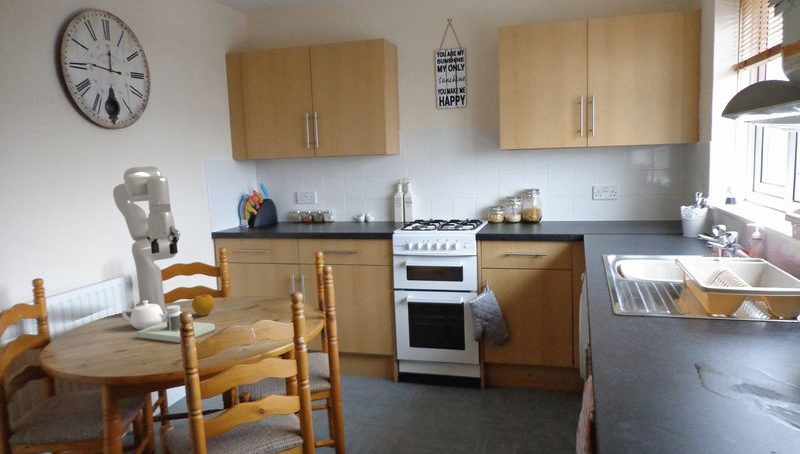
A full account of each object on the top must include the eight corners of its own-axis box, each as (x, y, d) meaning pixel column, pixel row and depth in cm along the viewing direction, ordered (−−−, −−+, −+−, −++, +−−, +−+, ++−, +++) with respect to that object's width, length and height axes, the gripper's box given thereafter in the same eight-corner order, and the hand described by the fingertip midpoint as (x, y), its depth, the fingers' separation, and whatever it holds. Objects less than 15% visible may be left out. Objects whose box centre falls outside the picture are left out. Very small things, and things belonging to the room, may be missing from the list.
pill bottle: (187, 330, 214) (184, 304, 213) (179, 335, 209) (177, 308, 207) (172, 330, 215) (169, 304, 214) (164, 335, 209) (162, 309, 208)
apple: (206, 319, 230) (204, 297, 229) (188, 318, 233) (185, 296, 232) (220, 312, 239) (218, 291, 238) (202, 312, 242) (200, 291, 241)
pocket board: (137, 338, 209) (136, 331, 209) (172, 325, 224) (171, 319, 223) (181, 343, 200) (181, 337, 199) (215, 330, 214) (214, 323, 214)
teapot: (181, 320, 231) (178, 295, 229) (167, 329, 218) (164, 303, 217) (132, 322, 231) (129, 298, 230) (116, 332, 219) (112, 306, 218)
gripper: (135, 210, 220) (140, 254, 222) (168, 210, 212) (173, 255, 214) (152, 208, 227) (156, 251, 229) (184, 208, 219) (188, 252, 221)
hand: (164, 253), depth 222 cm, fingers open, 9 cm apart
